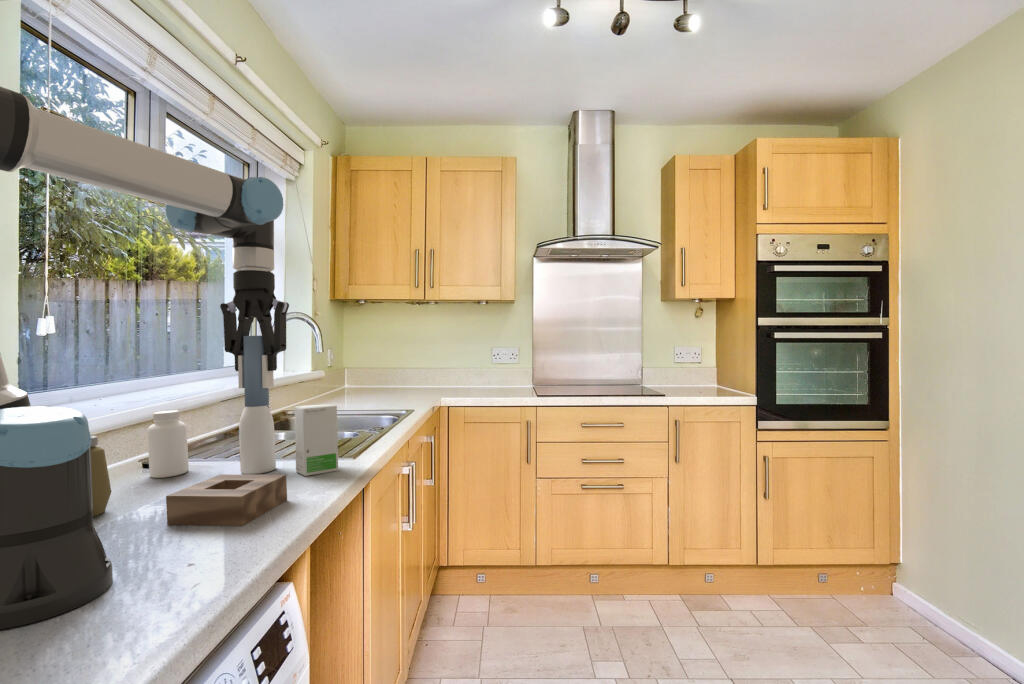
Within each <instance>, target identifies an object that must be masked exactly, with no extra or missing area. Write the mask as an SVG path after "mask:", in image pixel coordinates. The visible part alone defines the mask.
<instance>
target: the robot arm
mask: <svg viewBox="0 0 1024 684" xmlns="http://www.w3.org/2000/svg"><path fill="white" fill-rule="evenodd" d="M23 168H25V169H28V170H33V171H36V172H40V173H44V174H48V175H51V176H55V177H58V178H59V177H60V178H64V179H67V180H71V181H75V182H79V183H82V184H86V185H90V186H94V187H98V188H100V189H101V188H102V189H105V190H109V191H114V192H116V193H121V194H125V195H129V196H133V197H137V198H141V199H144V200H148V201H152V202H155V203H160V204H164V207H165V208H164V213H165V214H164V215H165V217H166V220H167V223H168V224H169V225H170V226H171V227H172V228H174V229H177V230H182V231H185V232H189V233H191V234H192V233H195V234H196V233H197V234H202V235H209V236H216V237H222V238H227V239H231V240H232V241H231V243H232V268H233V269H234V270H235V271H234V272H233V274H232V275H233V278H232V279H233V285H232V286H233V291H234V295H233V299H232V300H231V301H230V302H226V303H224V302H222V303H221V304H220V305H219V308H220V310H221V313H222V317H223V320H222V321H223V341H224V343H223V344H224V346H223V347H224V351H225V352H226V353H230V354H232V355H233V356H234V370H235V372H238V373H237V375H238V389H244V342H243V336H250V335H251V334H250V333H251V328H252V323H254V319H255V318H256V322H258V324H259V329H260V333H261V336H262V338H263V343H264V347H265V352H264V354H265V355H262V388H270V389H271V388H274V371H277V369H278V354H279V353H281V352H285V351H286V350H287V314H288V310H289V307H290V304H289V302H287V301H281V300H278V299H277V297H276V295H275V293H274V292H275V289H276V284H275V283H276V282H275V281H276V279H275V274H274V273H273V272H272V271H274V270H275V250H274V249H275V232H274V231H275V221H276V220H277V219H278V218H279V217H281V215H282V213H283V210H284V205H285V204H284V197H283V194H282V191H281V190H280V188H279V186H277V184H276V183H275V182H274V181H272V180H271V179H269V178H266V177H263V176H254V177H253V176H251V177H247V178H242V177H239V176H236V175H233V174H230V173H226V172H223V171H221V170H218V169H215V168H212V167H209V166H207V165H203V164H200V163H197V162H194V161H192V160H188V159H186V158H183V157H180V156H177V155H174V154H171V153H168V152H166V151H162V150H160V149H156V148H154V147H150V146H148V145H144V144H142V143H139V142H136V141H133V140H130V139H127V138H125V137H123V136H119V135H116V134H113V133H110V132H107V131H104V130H101V129H98V128H96V127H93V126H89V125H87V124H84V123H80V122H79V121H75V120H72V119H70V118H66V117H64V116H60V115H58V114H55V113H52V112H49V111H46V110H43V109H41V108H38V107H35V106H34V104H32V102H31V100H30V99H29V98H28V96H27V95H25V94H23V93H20V92H17V91H15V90H11V89H9V88H5V87H3V86H0V171H3V172H6V173H7V172H8V173H13V172H15V171H17V170H20V169H23ZM272 309H273V310H274V313H273V318H272V314H271V311H272ZM237 311H238V315H237ZM237 316H238V317H237ZM272 320H273V321H272ZM237 322H238V324H237ZM272 322H273V325H272ZM91 436H92V434H91V432H90V428H89V422H88V417H86V415H85V414H84V413H83V412H81V411H79V410H77V409H73V408H70V407H69V408H68V407H64V406H63V407H62V406H50V407H49V406H46V405H45V406H44V405H43V406H41V405H40V406H37V405H36V406H35V405H33V406H32V405H31V402H30V399H29V396H28V392H27V391H24V390H23V389H20V388H17V387H15V386H13V385H12V384H11V383H10V382H9V378H8V375H7V371H6V368H5V365H4V361H3V357H2V355H1V353H0V630H1V631H2V630H5V629H10V628H15V627H20V626H24V625H28V624H33V623H37V622H39V621H43V620H47V619H49V618H52V617H55V616H56V617H57V616H58V615H61V614H64V613H66V612H69V611H71V610H74V609H76V608H79V607H81V606H82V605H84V604H87V603H89V602H91V601H93V600H95V599H96V598H98V597H99V596H100V595H102V594H104V593H105V592H106V591H107V590H108V589H109V588H110V587H111V586H112V584H113V580H114V579H113V578H114V577H113V564H112V561H111V560H110V558H109V557H108V556H107V553H106V551H105V548H104V545H103V543H102V541H101V539H100V537H99V534H98V532H97V530H96V528H95V525H94V516H93V502H92V473H91V443H92V441H91V440H92V438H91Z"/></svg>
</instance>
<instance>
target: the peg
mask: <svg viewBox="0 0 1024 684" xmlns="http://www.w3.org/2000/svg"><path fill="white" fill-rule="evenodd" d="M243 342H244V388H243V389H244V390H243V391H244V392H243V393H244V408H245V407H259V406H267V407H268V406H269V405H270V395H269V393H270V392H269V391H270V390H269V388H262V355H265V354H264V352H265V347H264V343H263V338H262V335H249V336H243Z"/></svg>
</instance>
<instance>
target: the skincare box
mask: <svg viewBox="0 0 1024 684" xmlns="http://www.w3.org/2000/svg"><path fill="white" fill-rule="evenodd" d="M293 408H294V431H295V432H294V433H295V434H294V437H295V440H294V441H295V442H294V444H295V471H296V473H298V474H300V475H302V476H303V477H308V476H314V475H319V474H325V473H326V474H327V473H333V472H337V471H339V450H338V449H339V446H338V440H339V439H338V438H339V437H338V408H337V405H336V404H335V405H334V404H330V403H329V404H328V403H326V404H325V403H324V404H323V403H322V404H308V405H299V406H297V405H296V406H294V407H293Z"/></svg>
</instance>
